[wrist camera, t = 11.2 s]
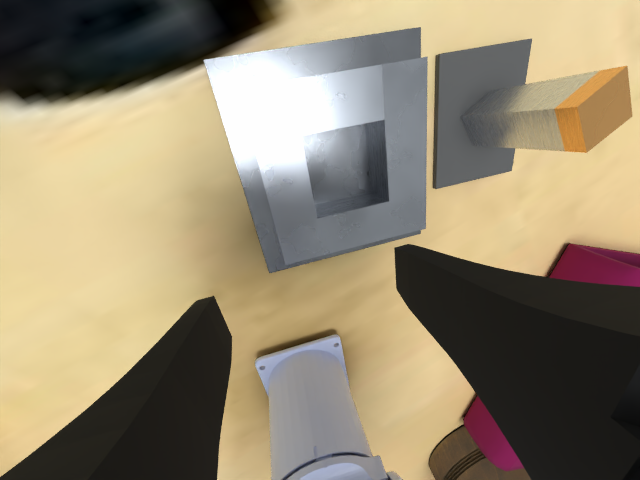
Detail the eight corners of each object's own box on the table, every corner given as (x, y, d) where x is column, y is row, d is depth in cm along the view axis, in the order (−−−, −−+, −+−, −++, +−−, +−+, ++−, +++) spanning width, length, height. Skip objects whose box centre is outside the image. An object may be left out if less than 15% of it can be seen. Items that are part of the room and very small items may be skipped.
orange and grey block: (472, 145, 19) (586, 152, 12) (459, 116, 18) (577, 106, 11) (500, 121, 19) (632, 116, 12) (489, 90, 18) (627, 65, 11)
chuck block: (416, 231, 22) (443, 248, 18) (269, 269, 20) (270, 295, 17) (415, 30, 16) (455, 4, 13) (205, 62, 14) (189, 41, 11)
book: (455, 415, 36) (500, 481, 29) (558, 239, 27) (662, 276, 20) (556, 405, 42) (613, 458, 35) (671, 256, 32) (781, 290, 25)
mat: (507, 170, 21) (511, 170, 21) (433, 188, 20) (436, 188, 20) (526, 40, 17) (532, 38, 17) (436, 55, 17) (439, 53, 16)
